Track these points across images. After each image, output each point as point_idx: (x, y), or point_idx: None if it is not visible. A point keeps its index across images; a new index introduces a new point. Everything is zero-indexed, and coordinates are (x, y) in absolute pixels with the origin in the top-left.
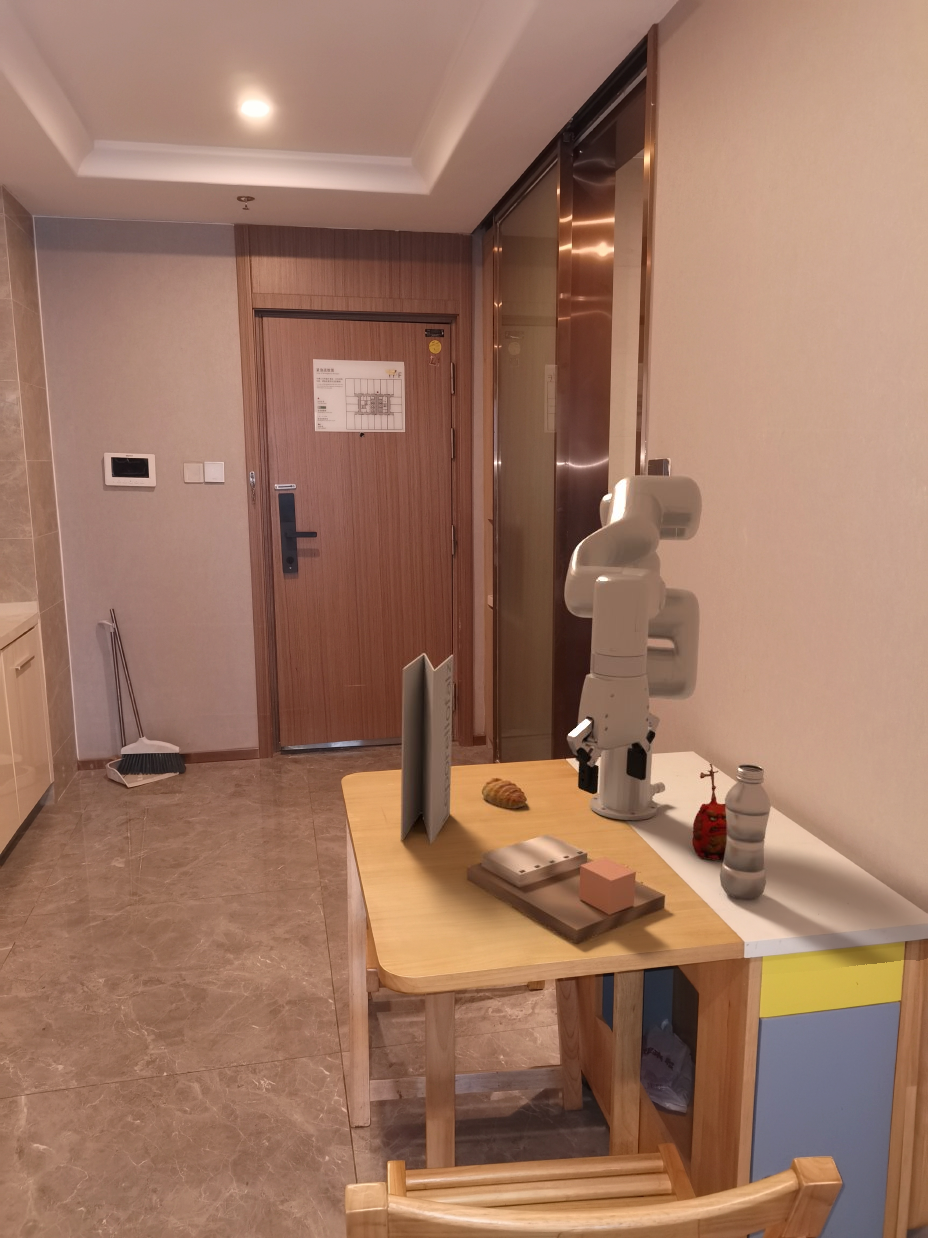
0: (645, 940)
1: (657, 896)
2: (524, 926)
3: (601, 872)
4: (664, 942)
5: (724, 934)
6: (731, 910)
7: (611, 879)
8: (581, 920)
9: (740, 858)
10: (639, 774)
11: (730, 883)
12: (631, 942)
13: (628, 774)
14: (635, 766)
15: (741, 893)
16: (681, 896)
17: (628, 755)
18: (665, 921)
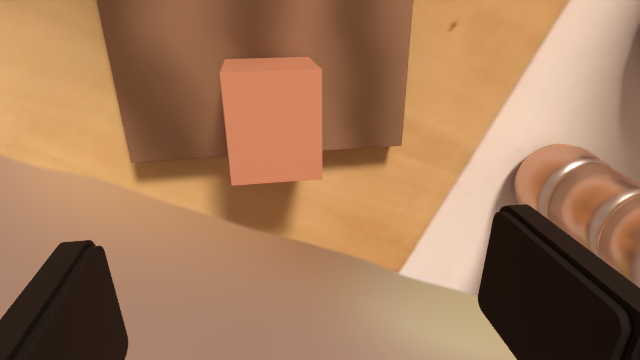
0: (268, 202)
1: (384, 142)
2: (71, 32)
3: (243, 138)
4: (292, 221)
5: (394, 247)
6: (474, 201)
7: (237, 181)
8: (166, 137)
9: (568, 229)
10: (493, 309)
11: (524, 192)
12: (241, 195)
13: (495, 226)
14: (524, 309)
15: (518, 203)
16: (458, 120)
17: (583, 296)
18: (352, 173)
